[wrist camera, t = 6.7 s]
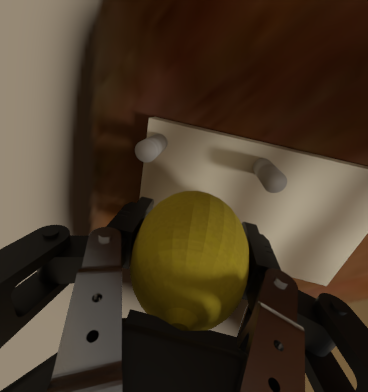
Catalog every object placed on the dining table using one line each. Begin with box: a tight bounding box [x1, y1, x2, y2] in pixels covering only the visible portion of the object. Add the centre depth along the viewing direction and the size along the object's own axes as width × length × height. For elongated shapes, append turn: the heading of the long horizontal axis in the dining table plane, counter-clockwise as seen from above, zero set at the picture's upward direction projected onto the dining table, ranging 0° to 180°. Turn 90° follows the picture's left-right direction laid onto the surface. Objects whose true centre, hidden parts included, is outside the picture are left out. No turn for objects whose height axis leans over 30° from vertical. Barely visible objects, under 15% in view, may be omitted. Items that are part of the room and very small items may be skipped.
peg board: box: [135, 117, 368, 286], centre depth 14 cm, size 17×10×4 cm, turn 78°
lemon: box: [130, 191, 249, 331], centre depth 10 cm, size 6×6×8 cm
